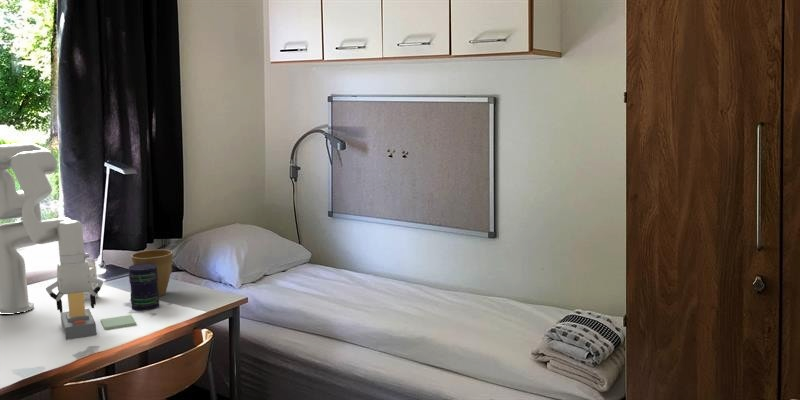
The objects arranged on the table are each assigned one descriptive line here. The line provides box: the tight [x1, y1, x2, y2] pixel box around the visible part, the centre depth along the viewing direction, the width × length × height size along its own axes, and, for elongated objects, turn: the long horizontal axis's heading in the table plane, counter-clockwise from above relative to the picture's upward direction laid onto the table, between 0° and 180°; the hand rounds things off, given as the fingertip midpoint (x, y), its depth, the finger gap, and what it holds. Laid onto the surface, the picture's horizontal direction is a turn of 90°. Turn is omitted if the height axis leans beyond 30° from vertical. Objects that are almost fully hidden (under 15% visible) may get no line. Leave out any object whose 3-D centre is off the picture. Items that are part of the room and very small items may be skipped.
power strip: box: [60, 308, 97, 340], centre depth 258 cm, size 18×9×5 cm, turn 28°
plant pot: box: [130, 249, 174, 297], centre depth 297 cm, size 15×15×16 cm
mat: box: [100, 314, 137, 331], centre depth 264 cm, size 10×10×1 cm
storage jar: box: [128, 263, 161, 312], centre depth 281 cm, size 10×10×15 cm
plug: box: [66, 292, 89, 322], centre depth 257 cm, size 6×6×13 cm
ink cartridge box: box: [83, 258, 99, 301], centre depth 294 cm, size 9×5×15 cm, turn 84°
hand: (76, 309), depth 257 cm, fingers open, 9 cm apart
